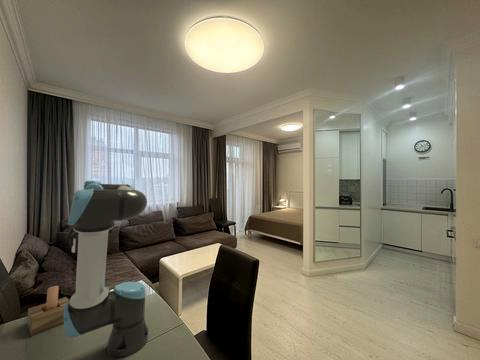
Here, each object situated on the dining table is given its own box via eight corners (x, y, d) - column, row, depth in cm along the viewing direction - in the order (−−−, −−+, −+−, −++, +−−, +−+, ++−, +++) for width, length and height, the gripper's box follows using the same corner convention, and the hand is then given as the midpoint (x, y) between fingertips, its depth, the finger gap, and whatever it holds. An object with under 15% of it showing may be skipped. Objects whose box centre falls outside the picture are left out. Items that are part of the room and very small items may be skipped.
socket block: (72, 320, 96) (73, 305, 97) (31, 336, 85) (32, 319, 86) (65, 310, 105) (66, 296, 105) (27, 324, 94) (28, 308, 94)
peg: (57, 319, 96) (59, 287, 97) (45, 323, 93) (48, 290, 94) (55, 316, 98) (57, 285, 99) (44, 320, 95) (46, 288, 96)
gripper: (114, 207, 119) (112, 243, 117) (59, 210, 99) (56, 253, 97) (119, 208, 114) (117, 245, 113) (62, 211, 94) (60, 256, 93)
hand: (89, 249), depth 105 cm, fingers open, 13 cm apart
